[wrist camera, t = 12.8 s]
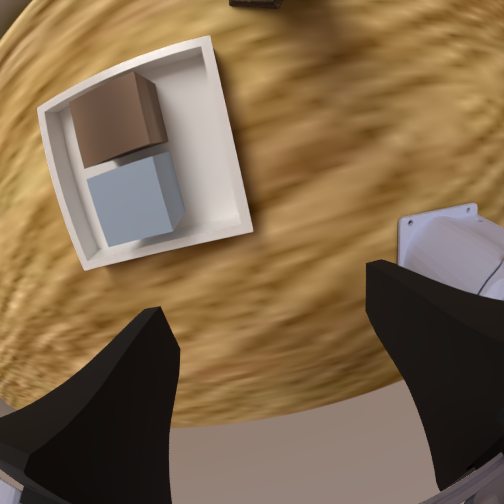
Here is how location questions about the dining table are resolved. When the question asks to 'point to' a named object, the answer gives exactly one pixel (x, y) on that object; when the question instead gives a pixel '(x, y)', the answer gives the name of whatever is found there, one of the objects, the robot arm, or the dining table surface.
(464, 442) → the robot arm
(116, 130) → the walnut block
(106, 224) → the gray block
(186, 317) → the dining table surface
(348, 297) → the dining table surface
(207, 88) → the dish
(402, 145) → the dining table surface
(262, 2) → the sculpture
